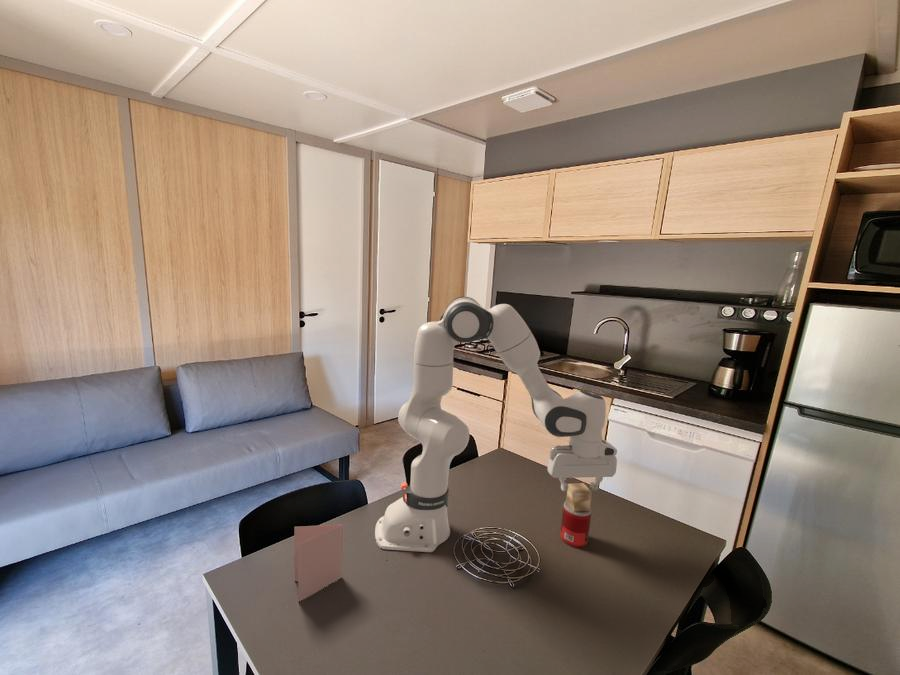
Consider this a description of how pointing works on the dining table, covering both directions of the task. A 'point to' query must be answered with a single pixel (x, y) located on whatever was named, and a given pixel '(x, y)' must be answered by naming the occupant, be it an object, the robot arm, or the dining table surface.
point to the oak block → (578, 497)
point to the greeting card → (317, 557)
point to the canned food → (575, 526)
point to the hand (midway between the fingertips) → (578, 489)
